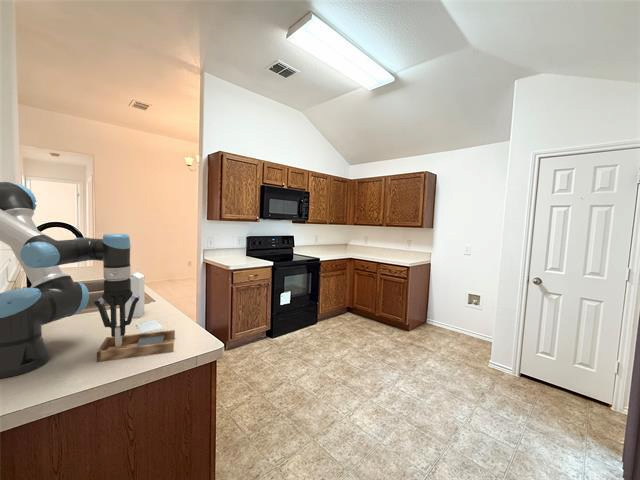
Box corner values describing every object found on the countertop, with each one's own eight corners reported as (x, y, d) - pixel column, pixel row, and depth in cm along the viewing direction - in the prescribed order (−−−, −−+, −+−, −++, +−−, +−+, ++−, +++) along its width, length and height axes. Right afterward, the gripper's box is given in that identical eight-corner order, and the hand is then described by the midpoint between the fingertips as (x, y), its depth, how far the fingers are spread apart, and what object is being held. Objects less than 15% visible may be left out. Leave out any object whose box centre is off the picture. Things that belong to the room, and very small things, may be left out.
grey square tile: (136, 353, 97) (136, 347, 97) (139, 343, 105) (139, 337, 104) (162, 350, 101) (162, 343, 101) (164, 340, 108) (164, 334, 108)
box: (96, 364, 91) (96, 352, 91) (106, 347, 102) (106, 337, 102) (173, 353, 101) (173, 342, 100) (174, 339, 111) (174, 329, 111)
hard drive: (135, 323, 122) (141, 333, 113) (157, 319, 128) (164, 328, 119) (135, 327, 123) (141, 336, 113) (157, 322, 128) (164, 332, 119)
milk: (144, 313, 137) (145, 269, 135) (139, 318, 131) (139, 271, 129) (130, 313, 136) (130, 268, 134) (124, 318, 130) (125, 271, 128)
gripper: (90, 282, 90) (92, 352, 92) (138, 279, 96) (138, 346, 98) (97, 277, 97) (98, 343, 99) (141, 275, 102) (142, 337, 104)
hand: (118, 344), depth 98 cm, fingers closed
